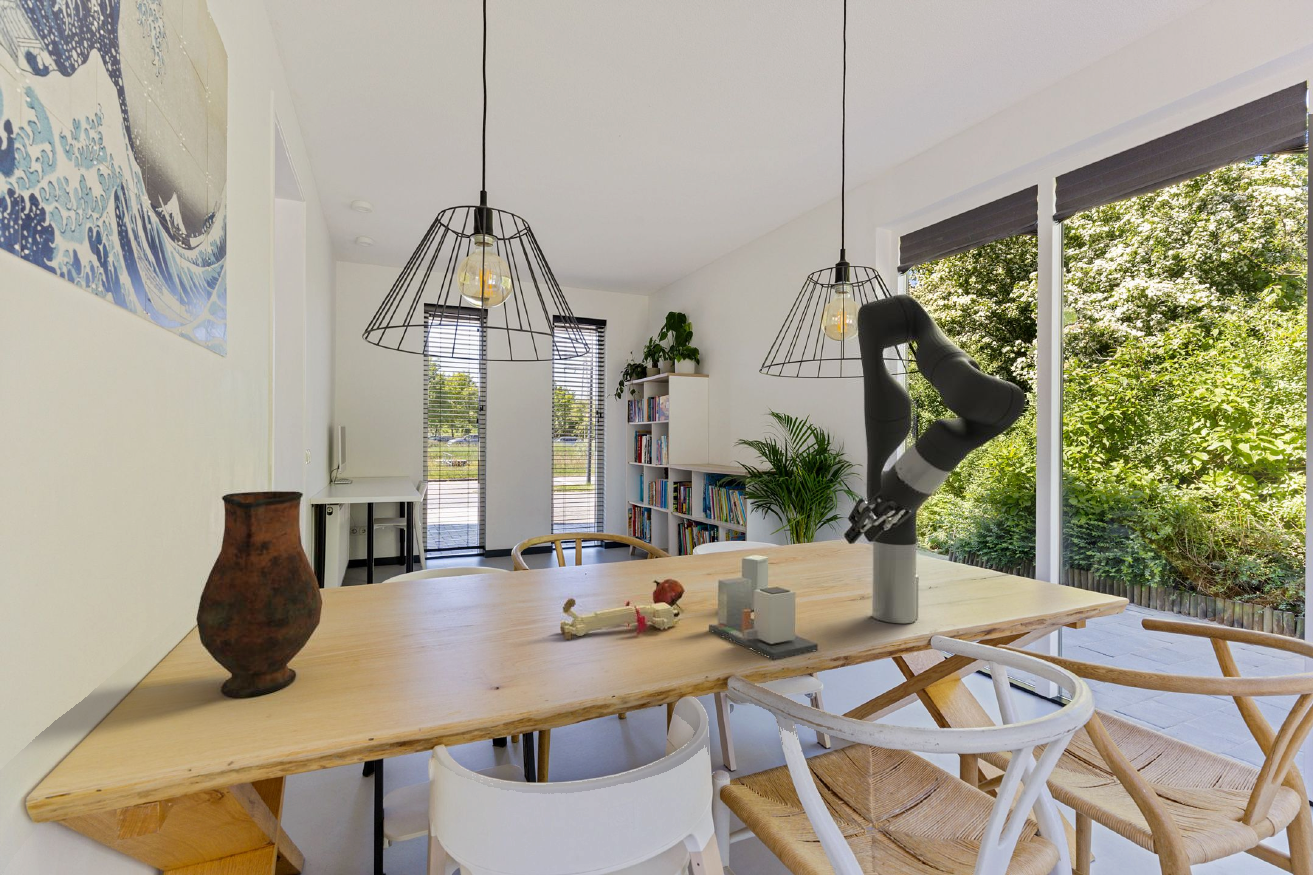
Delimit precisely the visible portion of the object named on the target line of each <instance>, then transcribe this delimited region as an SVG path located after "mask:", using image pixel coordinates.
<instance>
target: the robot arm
mask: <svg viewBox="0 0 1313 875" xmlns="http://www.w3.org/2000/svg"><path fill="white" fill-rule="evenodd" d="M856 322H857V334H858V343H859V349H860V356H861V365H862V374H863V402H864V403H863V411H864V412H863V413H864V428H865V439H866V454H867V456H866V458H867V459H866V500H865V498H864V497H861V498H859V499H858V500H857V501H856V503H855V505H854V507H853V509H852V511H851V512H850V514H849V516H848V517H847V520H848V521H849V522H850V524H851V526H850V527H849V528H848V529H847V530H846V531H845V533H844V534H843V536H844V538H845V540H846V541H847V543H848V544H850V545H853V544H855V543H856V542H857V541H858V540H859V539H860V537H861V536H863V535H864V537H865V539H866V540H867V541H868V542H869V543H872V585H871V586H872V587H871V588H872V589H871V592H872V596H871V597H872V600H871V601H872V602H871V606H872V608H871V609H872V610H871V616H872V617H873V618H874V619H876V620H879V621H881V622H885V623H886V622H887V623H892V624H911V623H914V622H916V620H917V619H919V590H920V589H919V587H920V586H919V584H920V583H919V582H920V581H919V576H918V575H917V515H918V514H917V513H918V510H919V509H920V508H921V507H922V505H923V504H924V503H925V502H926V501H927V500H928V499H929V498H930V497H931V496H932V495H933V494H934V493H935V492H936V491H937V490H938V489H939V488H940V487H941V486H942V485H943V483H945V481H946V480H947V479H948V477H949V476H950V475H951V473H952V472H953V471H954V470H955V469H956V468H957V466H958V465H959V464H961V463H962V461H963V460H964V459H965V458H966V457H967V456H968V455H969V454H971V452H973V451H975V450H977V449H978V448H980V447H982V446H984V445H986V444H987V443H988V442H991V441H992V440H993V439H996V438H997V437H999V436H1000V435H1002V434H1003V433H1004V432H1006V431H1007V430H1009V429H1010V428H1011V427H1012V426H1013V425H1015V423H1016V422H1017V421H1018V420H1019V418H1020V417H1021V415H1022V413H1023V412H1024V408H1025V404H1026V398H1025V394H1024V392H1023V390H1022V388H1020V387H1019V385H1016V384H1015V383H1013V382H1010V381H1007V380H1005V379H1001V378H998V377H996V376H993V375H990V374H986V373H985V372H982V369H981V366H980V365H979V363H978V362H977V361H976V359H975V358H973V357H972V356H971V355H969V354H968V353H967V352H966V351H964V350H963V349H962V348H961V347H959V346H958V345H956V343H954V342H953V341H951V340H950V339H949V337H948V336H946V334H945V333H944V332H943V331H942V329H941V328H940V327H939V325H938V324H937V322H936V321H935V320H934V318H933V317H932V316H931V315H930V314H929V313H928V311H927V310H926V309H925V307H924V306H923V305H922V303H920V301H918V300H917V298H915V297H914V296H912V295H910V294H906V293H905V294H903V293H901V294H896V295H892V296H888V297H884V298H880V299H878V300H873V301H871V302H866V303H864V304H863V305H861V306H860V308H859V309H858V312H857V321H856ZM912 341H913V342H917V347H916V350H915V364H916V367H917V370H918V372H919V373H920V374H921V376H922V377H923V378H924V379H925V380H926V381H927V382H928V383H929V384H931V386H933V388H935V389H936V390H937V391H938V394H939V395H940V397H941V399H942V402H943V404H944V405H945V407H946V408H947V409H948V410H949V411H951V412H952V413H953V414H955V415H956V416H958V417H955V418H952V417H951V418H949V417H947V418H946V417H942V418H938V419H936V420H935V421H933V422H932V423H931V424H930V425H929V426H928V427H927V428H926V429H925V431H924V432H922V434H921V435H920V436H919V438H917V440H916V441H915V442H914V443H913V444H912V445H911V446H910V447H908V448H907V449H906V450H905V451H904V452H903V453H902V455H901V456H899V458H898V459H897V460H896V461H895V463H894V464H893V465H892V466H891V467H890V468H889V469H888V470H884V468H885V465H886V463H887V461H888V460H889V459H890V457H891V456H892V455H893V454H894V453H895V451H896V450H897V449H898V448H900V446H901V445H902V444H903V443H904V441H905V440H906V439H907V437H908V435H909V434H910V432H911V430H912V422H913V420H912V409H913V408H912V407H913V406H912V399H911V396H910V394H909V393H908V391H907V390H906V388H905V387H904V385H902V383H901V382H900V381H898V380H897V379H896V377H894V375H893V374H892V373H891V371H889V369H888V368H887V366H886V365H885V360H884V350H885V349H889V348H893V347H897V346H900V345H903V344H908V343H909V342H912Z"/></svg>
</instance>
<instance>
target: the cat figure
mask: <svg viewBox="0 0 1313 875" xmlns="http://www.w3.org/2000/svg"><path fill="white" fill-rule="evenodd" d="M625 603H626V604H625V606H622V607H616V608H610V609H604V610H598V611H594V613H588V614H583V615H578V614H577V613H576V612H575V611H573V610H572V608H573V607H575V606H576V599H574V598H573V597H571V598H568V599H567V600H566V601H565V603H564V604H563V606H562V612H563V613H564V614H565V615H566V616H568V617H571V618H572V621H571V622H569V621H566V620H562V621H561V620H560V632H561V633H562V634H561V635H563V636H564V639H565V641H568V640H567V639H571V640H572V635H576V636H577V637H581V636H584V635H585V634H586V635H587V634H589V633H590V632H593V631H594V632H595V631H600V630H603V628H608V627H609V628H610V627H613V626H619V625H625V624H627V626H628V625H629V626H630V625H632V624H633V625H634V624H637V628H638V629H637V633H636V635H640V634H641V633H642V632H643V630H644V629H646V628H648V623H650V624H652V625H653V626H654V627H655V628H657V629H660V630H661V631H662V630H667V629H668V628H669V627H673V626H675V625H678V624H679V622H680V621H681V620H682V618H681V617H679V616H680V612H679V611H678V610H677V609H675V608H674V607H673V606H672V607H671V606H669V605H668V604H666V603H663V602H662V603H656V604H655V603H652V604H650V605H645V604H641V605H634V606H631V602H630V601H629V600H628V601H627V602H625Z"/></svg>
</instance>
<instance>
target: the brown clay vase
mask: <svg viewBox="0 0 1313 875" xmlns="http://www.w3.org/2000/svg"><path fill="white" fill-rule="evenodd" d="M303 495H304V493H303V492H300V491H294V490H293V491H281V490H280V491H279V490H278V491H277V490H276V491H275V490H273V491H272V490H271V491H248V492H235V493H226V494H225V495H223V496H221V500H222V501H223V503H224V504H223V505H224V506H223V507H224V530H223V536H222V542H221V548H220V552H219V554H218V556H217V558H216V559H215V561H214V564H213V566H212V569H210V570H211V571H210V572H209V575H208V576H207V579H206V582H205V585H204V588H203V590H202V591H201V595H200V599H199V604H198V610H197V612H196V623H197V629H198V635H199V641H200V643H201V645H202V646H203V647H204V648H205V650H207V652H208V653H209V654H210V656H211V657H212V658H213V659H214V660H215V661H216V663H218V664H220V666H221V667H223V668H224V669H225V670H226V671H227V672H228V673H230V674H231V676H230V677H229V678H228V679H226V680H225V681H224V682H223V683H222V685H221V686H220V692H221V693H222V694H223V695H224V696H226V697H228V698H234V699H235V698H237V699H238V698H249V697H250V698H251V697H257V696H261V695H265V694H271V693H274V692H276V691H277V692H278V691H279V690H281V689H284V688H286V687H288V686H290V685H292V684H293V683H294V681H295V680H296V678H297V672H296V670H294V669H293V668H289V667H288V664H289V663H290V662H291V660H293V659H294V658H295V657H296V655H297V654H298V653H299V652H300V651H301V650H302V649H303V648H304V647H305V646H306V645H307V643H308V642H309V640H310V638H311V636H312V635H313V634H314V633H315V631H316V629H317V628H318V627H319V625H320V622H321V615H322V607H323V599H322V595H321V590H320V585H319V582H318V579H317V576H316V574H315V572H314V570H313V568H312V566H311V563H310V562H309V560H308V557H307V555H306V551H305V550H304V548H303V544H302V536H301V535H302V534H301V529H300V528H301V527H300V519H301V518H300V515H301V513H300V510H301V501H302V497H304V496H303Z"/></svg>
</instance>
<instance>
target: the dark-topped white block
mask: <svg viewBox="0 0 1313 875" xmlns="http://www.w3.org/2000/svg"><path fill="white" fill-rule="evenodd" d="M796 596H797V595H796V591H792V590H789V589H787V588H783V587H779V586H774V587H768V588H765V589H759V590H754V611H753V619H754V629H750V630H745V631H744V637H745V638H752V637H756V638H758V639H761V640H763V641H765V642H768V643H770V644H773V643H778V642H783V641H788V640H794V639H795V635H796Z"/></svg>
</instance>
